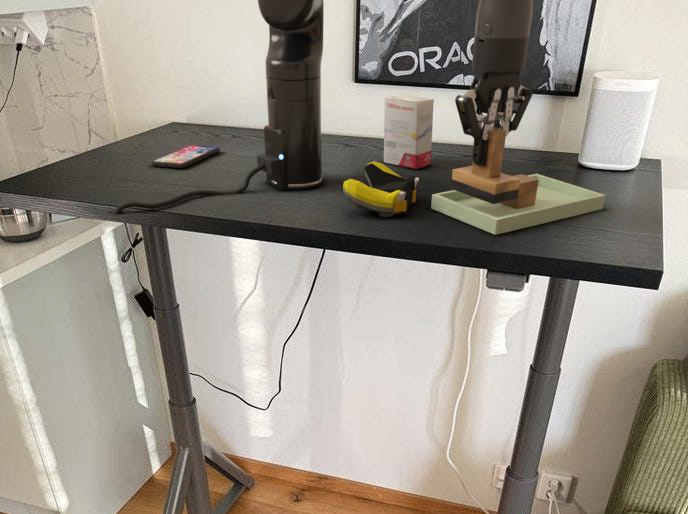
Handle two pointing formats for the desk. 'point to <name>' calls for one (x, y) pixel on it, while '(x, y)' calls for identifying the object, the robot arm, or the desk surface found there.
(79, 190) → the desk surface
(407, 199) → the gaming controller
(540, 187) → the tray
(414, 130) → the ink box
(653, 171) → the desk surface
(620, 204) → the desk surface
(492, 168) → the brush
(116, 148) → the desk surface
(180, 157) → the smartphone
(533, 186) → the wooden block
